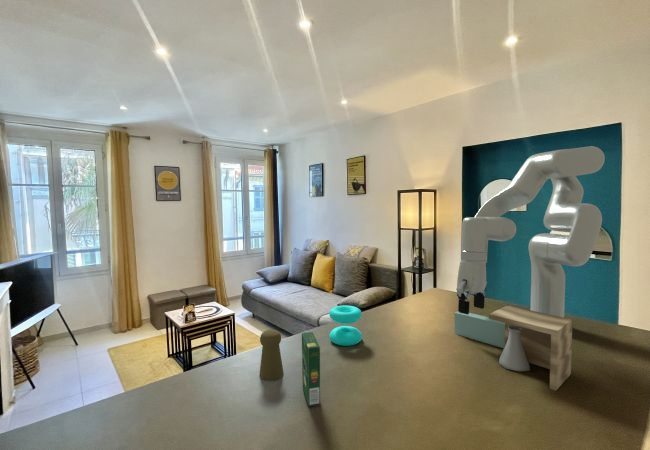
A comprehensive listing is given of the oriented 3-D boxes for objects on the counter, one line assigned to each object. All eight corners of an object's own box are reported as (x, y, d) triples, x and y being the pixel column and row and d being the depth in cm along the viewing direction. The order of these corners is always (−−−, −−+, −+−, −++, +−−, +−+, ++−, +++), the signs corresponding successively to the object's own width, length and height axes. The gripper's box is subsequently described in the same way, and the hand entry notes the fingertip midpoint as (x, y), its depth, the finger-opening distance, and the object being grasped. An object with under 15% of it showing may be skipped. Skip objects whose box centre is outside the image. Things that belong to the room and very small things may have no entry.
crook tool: (468, 325, 112) (468, 306, 112) (542, 345, 96) (543, 322, 95) (454, 333, 105) (454, 312, 105) (531, 356, 89) (532, 331, 89)
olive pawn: (287, 370, 83) (286, 328, 83) (276, 382, 78) (275, 337, 77) (266, 366, 85) (265, 325, 85) (254, 378, 79) (253, 334, 79)
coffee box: (321, 406, 68) (320, 345, 67) (308, 408, 67) (307, 347, 67) (314, 385, 76) (313, 331, 75) (302, 387, 75) (301, 332, 75)
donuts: (365, 306, 103) (356, 316, 94) (365, 336, 104) (356, 349, 95) (335, 302, 107) (324, 312, 98) (336, 332, 108) (324, 344, 99)
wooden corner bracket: (506, 353, 91) (507, 305, 90) (570, 374, 80) (572, 319, 79) (488, 365, 84) (488, 314, 83) (555, 390, 73) (557, 330, 72)
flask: (535, 373, 80) (536, 334, 79) (503, 371, 82) (504, 332, 81) (523, 360, 87) (524, 323, 87) (494, 357, 89) (495, 322, 88)
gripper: (475, 253, 110) (473, 303, 111) (447, 257, 99) (445, 312, 100) (498, 256, 104) (495, 308, 105) (471, 260, 93) (469, 319, 94)
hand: (471, 310), depth 103 cm, fingers open, 9 cm apart
